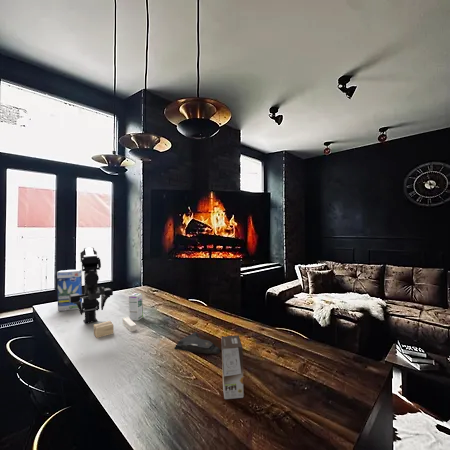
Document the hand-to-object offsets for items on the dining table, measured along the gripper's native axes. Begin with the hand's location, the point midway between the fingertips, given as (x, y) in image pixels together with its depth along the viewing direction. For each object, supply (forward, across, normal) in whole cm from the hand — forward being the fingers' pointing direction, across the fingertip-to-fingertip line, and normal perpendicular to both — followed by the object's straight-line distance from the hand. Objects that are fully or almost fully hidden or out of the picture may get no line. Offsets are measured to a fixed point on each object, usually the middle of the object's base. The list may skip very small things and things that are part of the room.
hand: (91, 312), depth 128 cm
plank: (+13, +18, +1) cm, 23 cm away
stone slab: (+13, +34, -43) cm, 57 cm away
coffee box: (+12, +27, -76) cm, 81 cm away
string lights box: (+14, -1, +62) cm, 63 cm away
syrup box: (+13, +26, +11) cm, 31 cm away
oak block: (+13, +6, +2) cm, 14 cm away
